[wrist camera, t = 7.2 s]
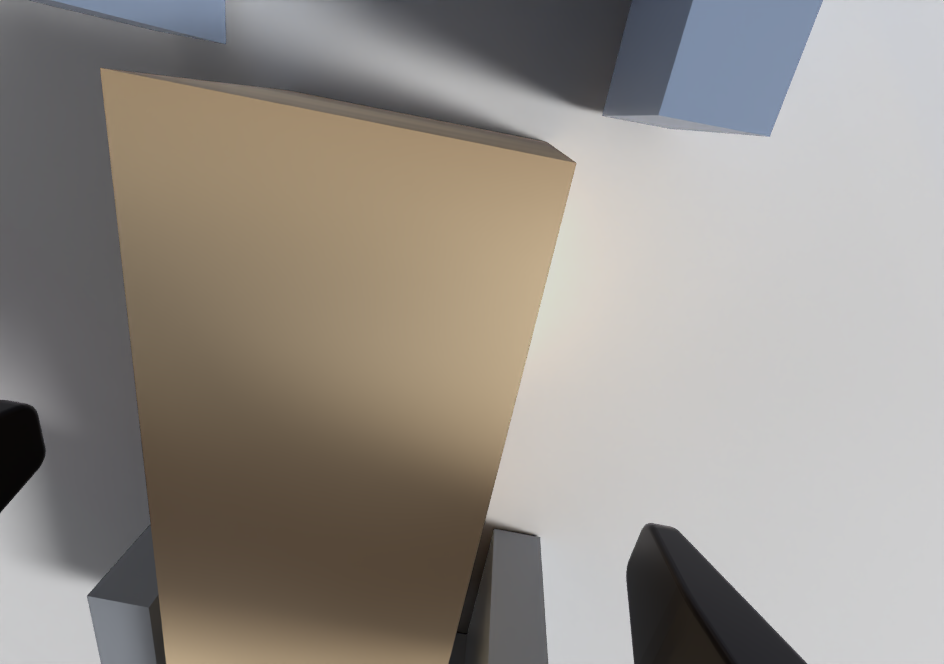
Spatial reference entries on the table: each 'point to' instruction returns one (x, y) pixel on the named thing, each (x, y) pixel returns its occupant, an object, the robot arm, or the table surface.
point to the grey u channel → (473, 655)
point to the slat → (321, 358)
